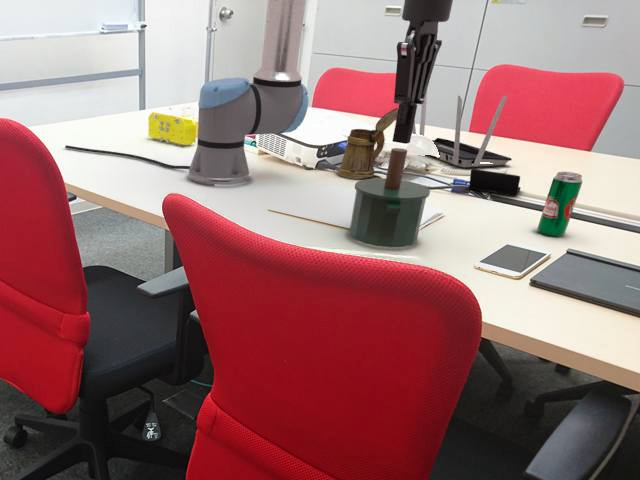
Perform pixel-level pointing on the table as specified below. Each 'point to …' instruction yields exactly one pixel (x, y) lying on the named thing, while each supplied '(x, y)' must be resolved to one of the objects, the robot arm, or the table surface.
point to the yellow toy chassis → (171, 129)
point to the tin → (385, 221)
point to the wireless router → (463, 152)
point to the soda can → (560, 204)
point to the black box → (494, 182)
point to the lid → (393, 182)
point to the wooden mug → (364, 149)
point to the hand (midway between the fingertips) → (401, 141)
